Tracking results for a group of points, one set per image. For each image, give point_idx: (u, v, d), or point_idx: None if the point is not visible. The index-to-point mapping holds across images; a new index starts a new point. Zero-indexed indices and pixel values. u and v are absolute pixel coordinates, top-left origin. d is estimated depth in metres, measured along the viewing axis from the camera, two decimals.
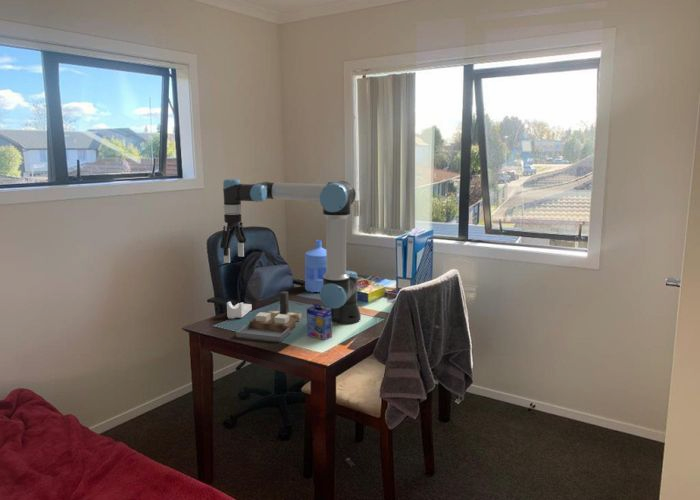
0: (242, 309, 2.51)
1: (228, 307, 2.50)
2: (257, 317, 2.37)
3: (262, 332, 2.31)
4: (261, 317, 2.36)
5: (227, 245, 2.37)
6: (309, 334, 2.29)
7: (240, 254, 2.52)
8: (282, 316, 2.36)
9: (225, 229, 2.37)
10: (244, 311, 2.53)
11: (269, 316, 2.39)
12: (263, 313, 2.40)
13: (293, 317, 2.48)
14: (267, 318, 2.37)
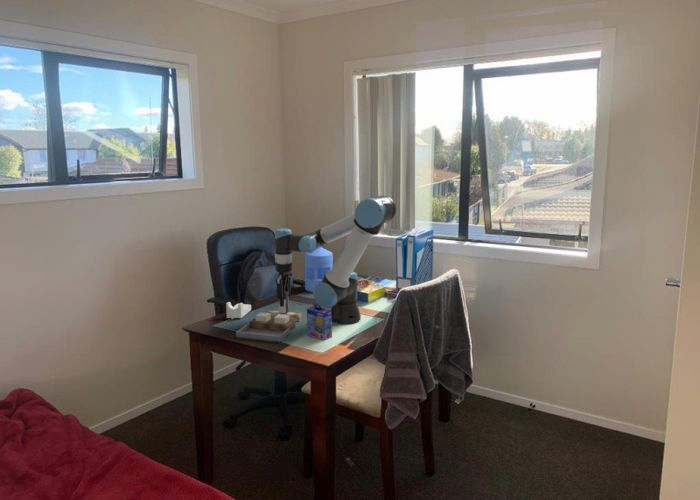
0: (241, 310, 2.50)
1: (227, 307, 2.50)
2: (257, 317, 2.37)
3: (262, 332, 2.31)
4: (261, 317, 2.36)
5: (283, 297, 2.46)
6: (309, 334, 2.29)
7: None
8: (282, 316, 2.36)
9: (278, 282, 2.42)
10: (243, 311, 2.53)
11: (269, 316, 2.39)
12: (263, 313, 2.40)
13: (293, 317, 2.48)
14: (267, 318, 2.37)
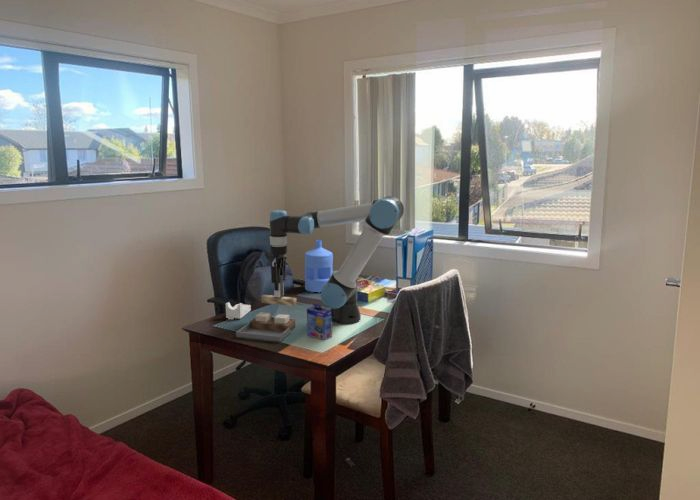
0: (241, 310, 2.49)
1: (227, 308, 2.49)
2: (257, 317, 2.37)
3: (262, 332, 2.31)
4: (261, 317, 2.36)
5: (278, 281, 2.39)
6: (309, 334, 2.29)
7: None
8: (282, 316, 2.36)
9: (272, 265, 2.35)
10: (243, 312, 2.52)
11: (269, 316, 2.39)
12: (263, 313, 2.40)
13: (288, 301, 2.41)
14: (267, 318, 2.37)
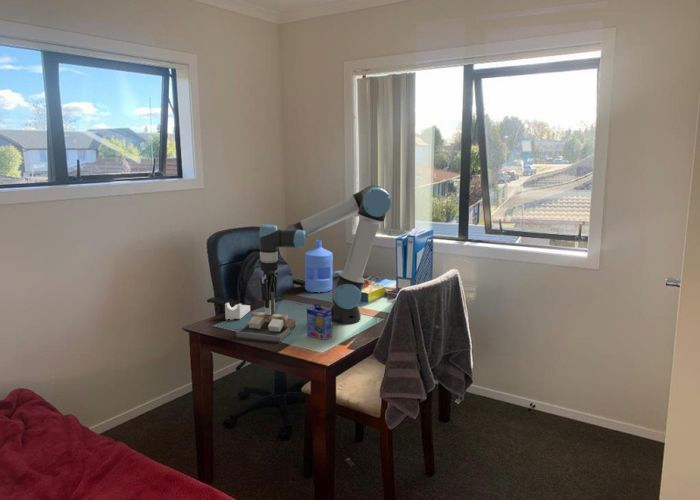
0: (240, 311, 2.49)
1: (226, 308, 2.48)
2: (250, 324, 2.31)
3: (262, 332, 2.31)
4: (254, 324, 2.30)
5: (268, 298, 2.30)
6: (309, 334, 2.29)
7: None
8: (275, 323, 2.30)
9: (262, 282, 2.26)
10: (242, 312, 2.51)
11: (262, 321, 2.33)
12: (256, 318, 2.34)
13: None
14: (261, 324, 2.32)
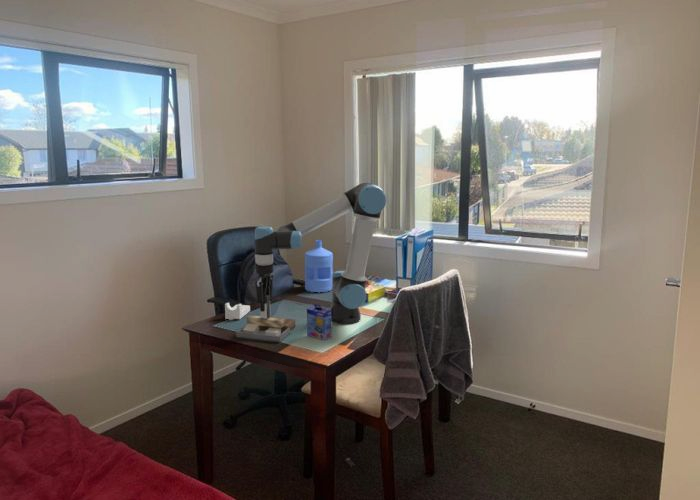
0: (240, 311, 2.49)
1: (226, 308, 2.48)
2: (245, 331, 2.27)
3: (262, 332, 2.31)
4: (248, 331, 2.27)
5: (263, 301, 2.25)
6: (309, 334, 2.29)
7: None
8: (273, 330, 2.27)
9: (258, 285, 2.22)
10: (242, 312, 2.51)
11: (257, 328, 2.29)
12: (251, 325, 2.30)
13: (274, 323, 2.28)
14: (256, 331, 2.28)
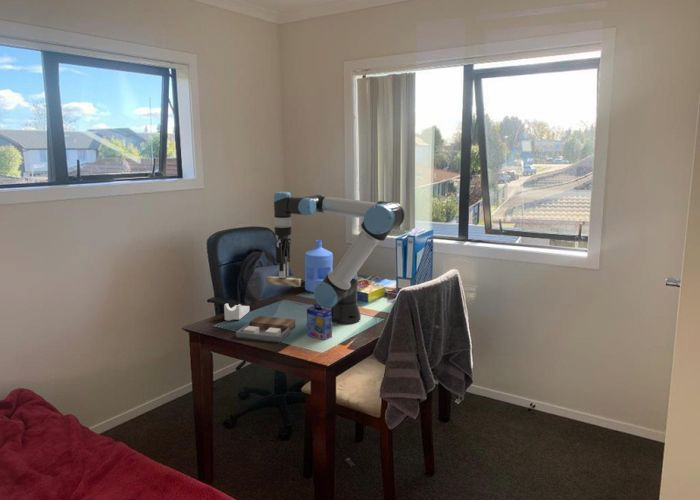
0: (239, 311, 2.48)
1: (225, 309, 2.47)
2: (245, 331, 2.27)
3: (262, 332, 2.31)
4: (248, 331, 2.27)
5: (282, 261, 2.42)
6: (309, 334, 2.29)
7: None
8: (273, 330, 2.27)
9: (277, 246, 2.38)
10: (242, 313, 2.50)
11: (258, 330, 2.30)
12: (251, 326, 2.31)
13: (292, 282, 2.44)
14: (255, 332, 2.28)
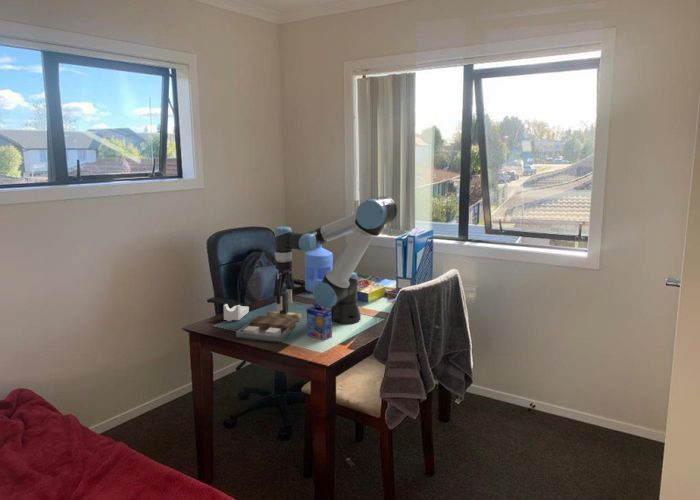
0: (239, 312, 2.47)
1: (225, 310, 2.47)
2: (245, 331, 2.27)
3: (262, 332, 2.31)
4: (248, 331, 2.27)
5: (280, 293, 2.42)
6: (309, 334, 2.29)
7: (288, 300, 2.55)
8: (273, 330, 2.27)
9: (277, 278, 2.41)
10: (241, 314, 2.50)
11: (258, 330, 2.30)
12: (251, 326, 2.31)
13: (293, 317, 2.48)
14: (255, 332, 2.28)
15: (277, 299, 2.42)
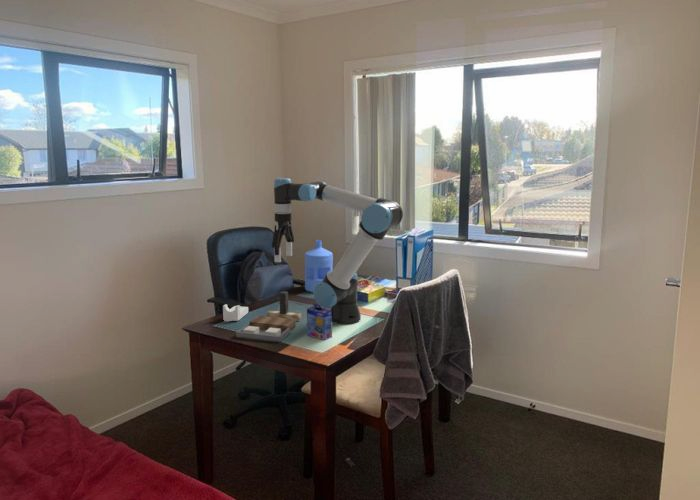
0: (238, 312, 2.46)
1: (224, 310, 2.46)
2: (245, 331, 2.27)
3: (262, 332, 2.31)
4: (248, 331, 2.27)
5: (278, 244, 2.36)
6: (309, 334, 2.29)
7: (288, 253, 2.51)
8: (273, 330, 2.27)
9: (276, 228, 2.36)
10: (240, 314, 2.49)
11: (258, 330, 2.30)
12: (251, 326, 2.31)
13: (293, 317, 2.48)
14: (255, 332, 2.28)
15: (275, 250, 2.37)
